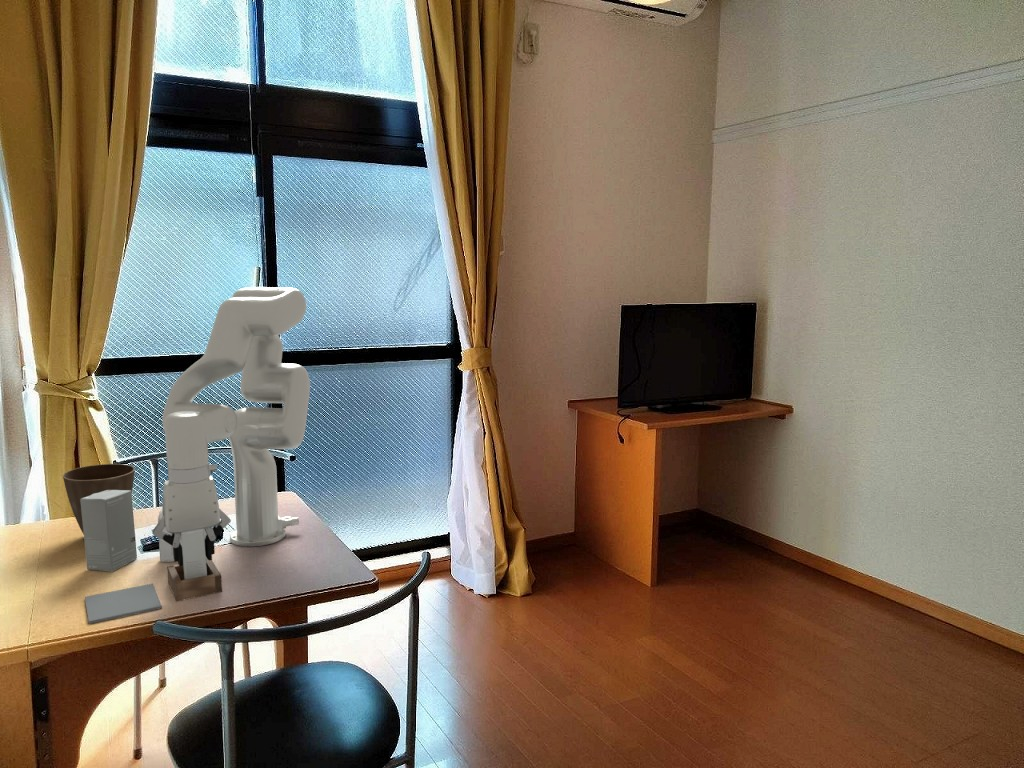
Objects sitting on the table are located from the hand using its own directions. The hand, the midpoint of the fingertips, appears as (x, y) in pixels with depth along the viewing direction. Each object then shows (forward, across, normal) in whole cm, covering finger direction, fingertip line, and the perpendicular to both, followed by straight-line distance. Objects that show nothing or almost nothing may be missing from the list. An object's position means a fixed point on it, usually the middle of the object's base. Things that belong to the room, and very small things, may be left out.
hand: (194, 560), depth 149 cm
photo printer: (+6, -1, -16) cm, 18 cm away
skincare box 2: (+5, 0, 0) cm, 5 cm away
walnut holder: (+5, 0, 0) cm, 6 cm away
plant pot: (+6, +13, -42) cm, 44 cm away
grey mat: (+5, +13, +2) cm, 14 cm away
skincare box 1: (+6, +13, -22) cm, 26 cm away
